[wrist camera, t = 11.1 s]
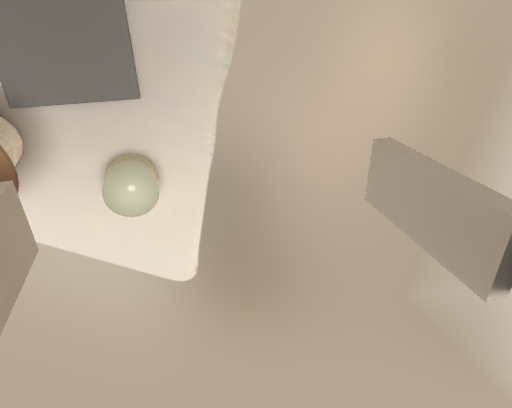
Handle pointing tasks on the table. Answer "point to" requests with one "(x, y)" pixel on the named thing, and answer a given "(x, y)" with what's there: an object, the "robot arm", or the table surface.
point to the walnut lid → (7, 169)
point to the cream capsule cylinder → (131, 185)
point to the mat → (65, 52)
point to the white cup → (10, 140)
